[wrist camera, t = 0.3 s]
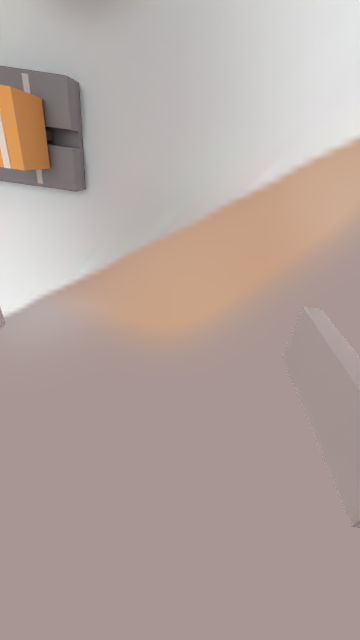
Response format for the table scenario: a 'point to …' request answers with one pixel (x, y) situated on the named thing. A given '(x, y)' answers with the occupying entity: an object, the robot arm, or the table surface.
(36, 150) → the fader tab
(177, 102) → the table surface
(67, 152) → the slider console
